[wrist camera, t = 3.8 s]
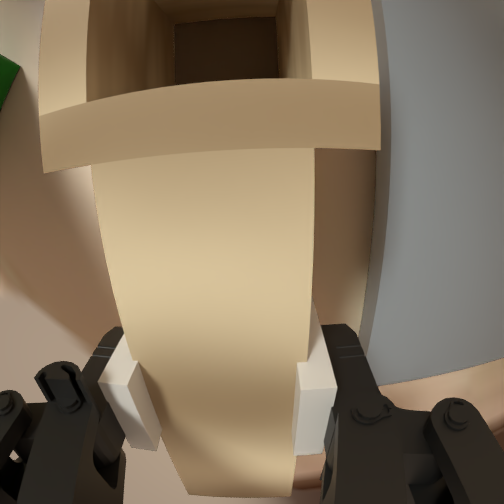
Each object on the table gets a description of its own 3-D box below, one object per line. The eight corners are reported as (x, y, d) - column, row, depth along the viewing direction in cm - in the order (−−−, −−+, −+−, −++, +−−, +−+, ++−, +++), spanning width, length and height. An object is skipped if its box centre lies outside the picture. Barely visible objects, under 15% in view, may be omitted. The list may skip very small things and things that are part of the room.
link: (146, 6, 9) (62, -72, 3) (304, -7, 9) (345, -110, 3) (185, 381, 16) (160, 491, 9) (303, 380, 16) (321, 493, 9)
